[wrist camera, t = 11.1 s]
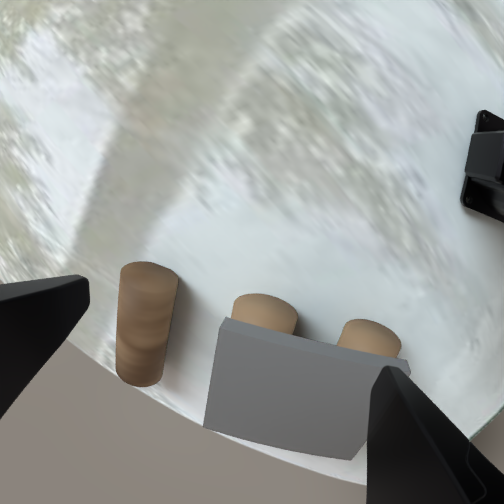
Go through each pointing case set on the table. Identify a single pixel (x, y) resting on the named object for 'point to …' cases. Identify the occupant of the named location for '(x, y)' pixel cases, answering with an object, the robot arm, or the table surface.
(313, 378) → the slab on rollers
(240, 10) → the table surface
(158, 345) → the roller
